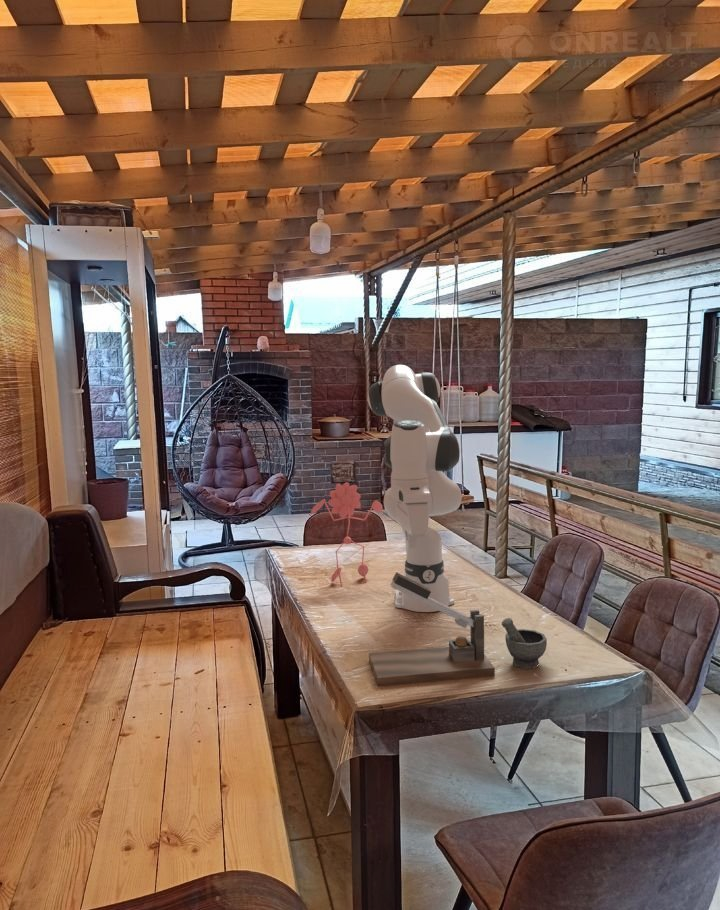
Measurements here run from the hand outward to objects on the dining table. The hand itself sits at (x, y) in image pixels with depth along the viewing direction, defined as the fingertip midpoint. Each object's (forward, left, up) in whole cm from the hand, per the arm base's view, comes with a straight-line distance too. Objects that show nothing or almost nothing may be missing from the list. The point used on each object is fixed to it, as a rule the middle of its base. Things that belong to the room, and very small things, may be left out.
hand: (411, 546), depth 156 cm
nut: (0, +12, -25) cm, 27 cm away
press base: (0, +4, -31) cm, 31 cm away
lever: (0, +5, -16) cm, 17 cm away
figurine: (-76, -8, -31) cm, 82 cm away
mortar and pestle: (+2, +27, -31) cm, 41 cm away
